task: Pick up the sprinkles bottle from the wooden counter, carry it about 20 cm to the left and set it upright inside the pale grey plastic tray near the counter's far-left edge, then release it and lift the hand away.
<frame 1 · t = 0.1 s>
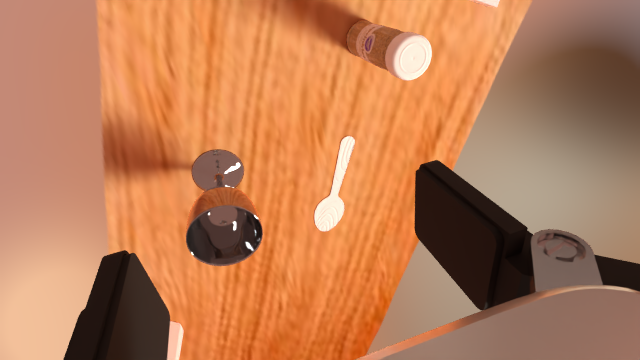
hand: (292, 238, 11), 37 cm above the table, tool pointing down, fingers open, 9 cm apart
spoon: (334, 185, 57), on the table
sprinkles bottle: (360, 38, 46), on the table
salt shaker: (167, 330, 61), on the table
wine glass: (218, 171, 49), on the table
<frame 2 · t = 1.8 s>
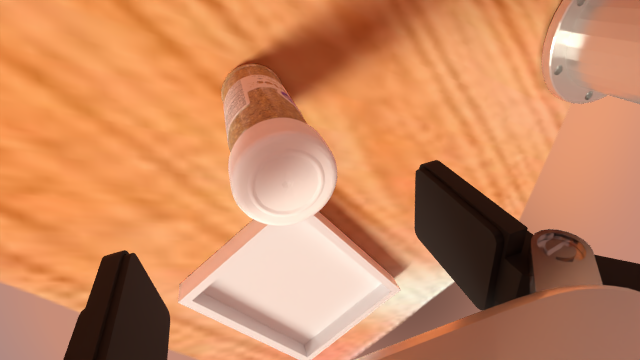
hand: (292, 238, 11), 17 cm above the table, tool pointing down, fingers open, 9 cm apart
sprinkles bottle: (251, 93, 26), on the table
tray: (297, 279, 36), on the table
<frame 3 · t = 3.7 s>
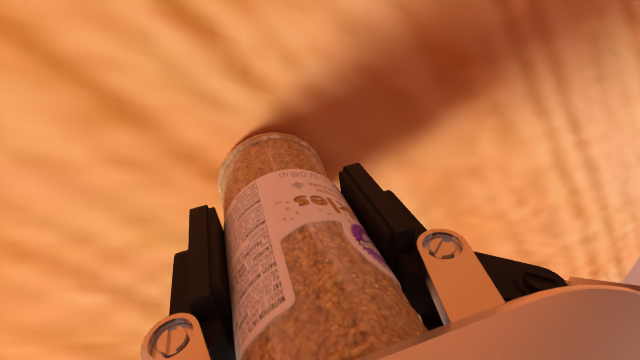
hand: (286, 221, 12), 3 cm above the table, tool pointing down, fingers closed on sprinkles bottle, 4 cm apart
sprinkles bottle: (268, 175, 15), on the table, touching gripper
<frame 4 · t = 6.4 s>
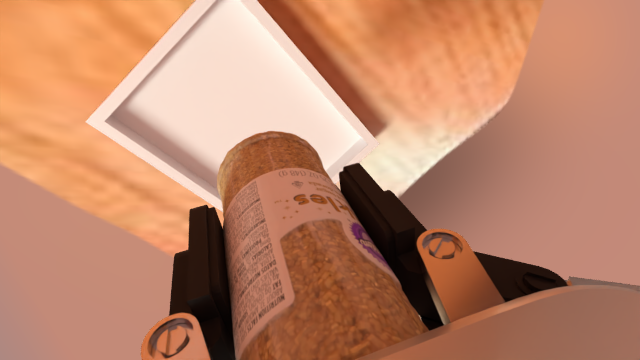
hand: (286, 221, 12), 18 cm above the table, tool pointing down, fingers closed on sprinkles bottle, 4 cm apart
sprinkles bottle: (268, 174, 15), point 15 cm above the table, touching gripper
tray: (250, 124, 29), on the table
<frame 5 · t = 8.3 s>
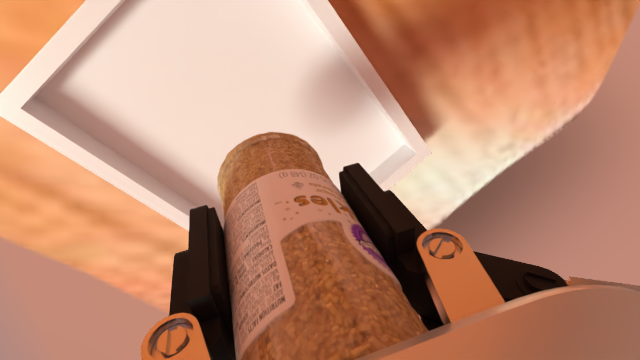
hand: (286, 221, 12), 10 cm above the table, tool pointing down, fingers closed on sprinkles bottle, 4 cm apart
sprinkles bottle: (268, 175, 15), point 6 cm above the table, touching gripper
tray: (253, 121, 20), on the table
when the fingers open (5 cm above the table, at t = 9.5 s): sprinkles bottle drops 1 cm, resting on tray.
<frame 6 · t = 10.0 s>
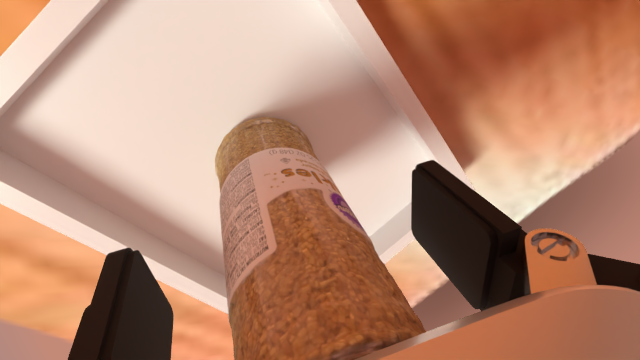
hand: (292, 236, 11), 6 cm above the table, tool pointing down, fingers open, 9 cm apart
sprinkles bottle: (263, 158, 16), resting on tray
tray: (262, 156, 17), on the table
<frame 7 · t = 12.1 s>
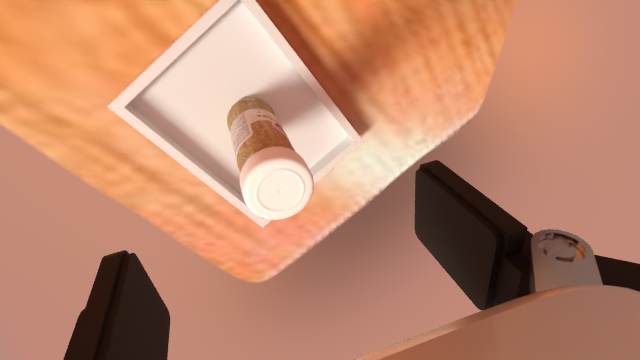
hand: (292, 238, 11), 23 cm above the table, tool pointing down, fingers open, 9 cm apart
sprinkles bottle: (250, 119, 33), resting on tray
tray: (250, 118, 33), on the table
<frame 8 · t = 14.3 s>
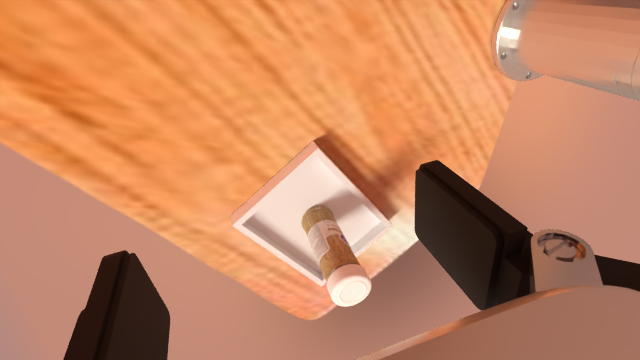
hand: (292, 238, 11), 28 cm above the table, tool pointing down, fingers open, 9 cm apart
sprinkles bottle: (315, 217, 47), resting on tray
tray: (315, 216, 48), on the table
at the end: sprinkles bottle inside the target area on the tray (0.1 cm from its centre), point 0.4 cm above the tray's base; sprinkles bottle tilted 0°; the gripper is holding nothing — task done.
